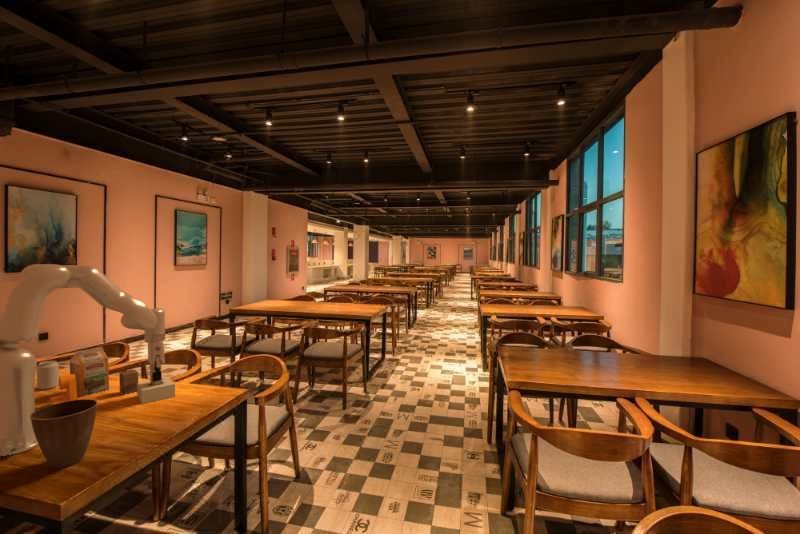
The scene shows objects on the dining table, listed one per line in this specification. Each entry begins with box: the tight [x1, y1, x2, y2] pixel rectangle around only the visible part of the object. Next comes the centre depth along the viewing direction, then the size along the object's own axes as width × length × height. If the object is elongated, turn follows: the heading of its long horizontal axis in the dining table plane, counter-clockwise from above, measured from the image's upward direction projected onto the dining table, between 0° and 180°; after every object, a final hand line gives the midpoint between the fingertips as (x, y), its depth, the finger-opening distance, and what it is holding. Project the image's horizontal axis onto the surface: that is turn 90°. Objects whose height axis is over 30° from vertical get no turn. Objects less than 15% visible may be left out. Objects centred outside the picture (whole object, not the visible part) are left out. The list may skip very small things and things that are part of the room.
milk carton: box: [69, 346, 110, 398], centre depth 172 cm, size 11×11×19 cm
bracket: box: [49, 374, 79, 405], centre depth 156 cm, size 11×7×12 cm, turn 49°
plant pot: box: [30, 398, 98, 469], centre depth 113 cm, size 15×15×16 cm
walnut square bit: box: [118, 369, 139, 396], centre depth 171 cm, size 6×6×9 cm
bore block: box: [136, 377, 176, 405], centre depth 166 cm, size 12×12×6 cm
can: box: [36, 360, 60, 391], centre depth 177 cm, size 8×8×12 cm
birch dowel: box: [149, 360, 163, 386], centre depth 166 cm, size 4×4×12 cm
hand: (155, 378), depth 166 cm, fingers closed on birch dowel, 4 cm apart
